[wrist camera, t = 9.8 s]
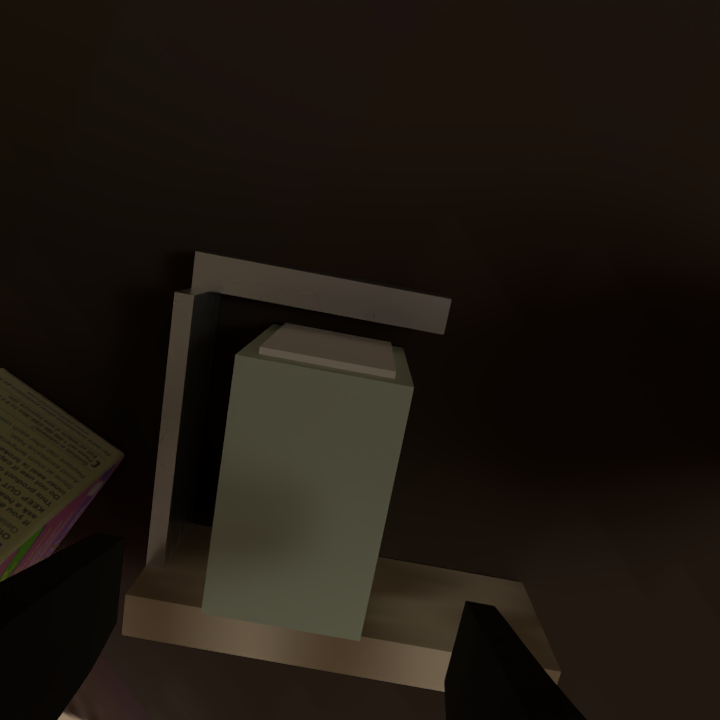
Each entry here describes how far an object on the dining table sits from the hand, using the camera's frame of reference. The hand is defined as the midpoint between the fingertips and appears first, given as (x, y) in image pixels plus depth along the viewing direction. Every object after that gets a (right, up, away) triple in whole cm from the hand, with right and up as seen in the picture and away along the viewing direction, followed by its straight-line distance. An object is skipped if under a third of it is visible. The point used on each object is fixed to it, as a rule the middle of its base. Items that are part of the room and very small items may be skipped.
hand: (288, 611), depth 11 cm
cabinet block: (0, +2, +9) cm, 10 cm away
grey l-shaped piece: (-1, +3, +9) cm, 10 cm away
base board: (+1, -3, +10) cm, 11 cm away
